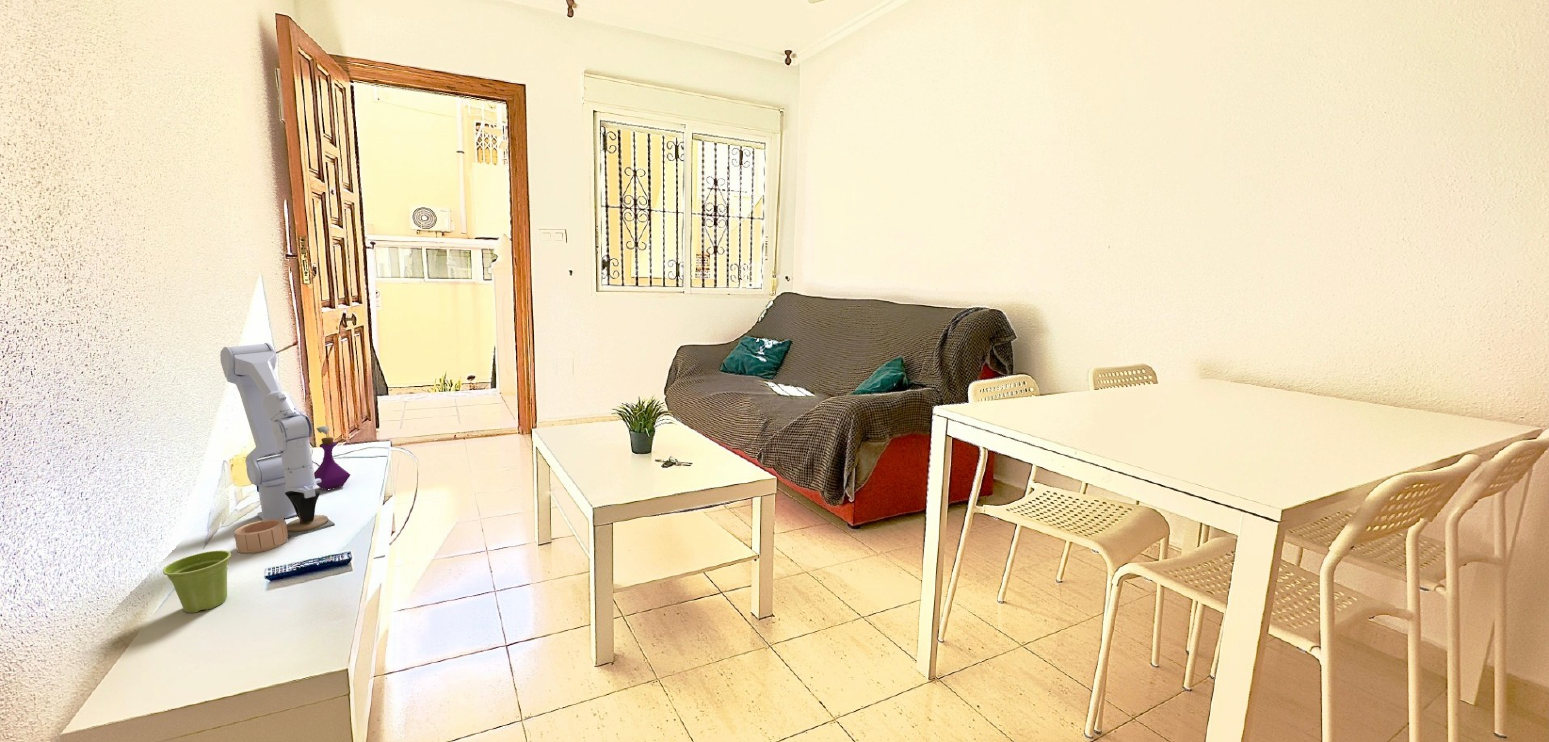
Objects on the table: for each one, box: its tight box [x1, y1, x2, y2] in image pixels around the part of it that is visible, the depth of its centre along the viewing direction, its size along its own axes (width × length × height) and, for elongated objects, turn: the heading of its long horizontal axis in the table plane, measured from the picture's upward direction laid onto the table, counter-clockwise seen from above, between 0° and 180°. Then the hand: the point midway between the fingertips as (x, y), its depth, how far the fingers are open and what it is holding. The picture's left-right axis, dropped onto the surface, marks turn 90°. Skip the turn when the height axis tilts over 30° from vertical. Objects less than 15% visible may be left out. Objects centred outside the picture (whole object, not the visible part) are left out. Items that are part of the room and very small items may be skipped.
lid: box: [286, 511, 329, 532], centre depth 155 cm, size 8×8×5 cm
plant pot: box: [162, 549, 232, 614], centre depth 119 cm, size 9×9×9 cm
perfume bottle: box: [314, 425, 351, 491], centre depth 183 cm, size 8×8×18 cm
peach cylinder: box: [233, 519, 289, 555], centre depth 145 cm, size 9×9×4 cm
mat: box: [287, 518, 336, 538], centre depth 156 cm, size 9×9×1 cm
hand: (306, 519), depth 155 cm, fingers closed on lid, 3 cm apart
